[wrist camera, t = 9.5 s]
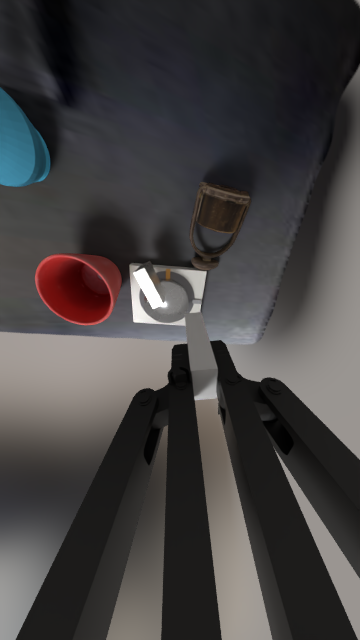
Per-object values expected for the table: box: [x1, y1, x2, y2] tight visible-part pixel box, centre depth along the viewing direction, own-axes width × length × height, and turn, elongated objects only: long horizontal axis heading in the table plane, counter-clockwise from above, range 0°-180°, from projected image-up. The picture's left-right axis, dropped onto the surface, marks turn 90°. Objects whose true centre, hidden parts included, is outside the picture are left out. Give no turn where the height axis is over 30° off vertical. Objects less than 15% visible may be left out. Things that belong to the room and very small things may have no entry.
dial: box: [133, 261, 189, 323], centre depth 28 cm, size 12×8×7 cm
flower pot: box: [35, 253, 122, 325], centre depth 27 cm, size 11×11×10 cm
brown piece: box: [189, 182, 251, 270], centre depth 24 cm, size 7×13×10 cm
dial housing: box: [129, 263, 207, 326], centre depth 33 cm, size 14×12×2 cm
